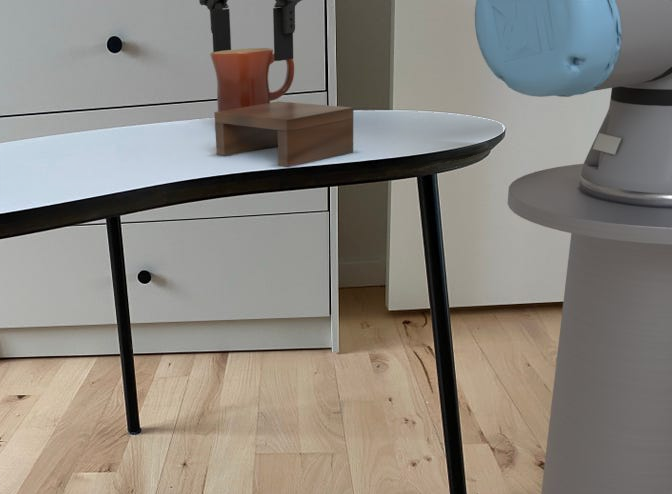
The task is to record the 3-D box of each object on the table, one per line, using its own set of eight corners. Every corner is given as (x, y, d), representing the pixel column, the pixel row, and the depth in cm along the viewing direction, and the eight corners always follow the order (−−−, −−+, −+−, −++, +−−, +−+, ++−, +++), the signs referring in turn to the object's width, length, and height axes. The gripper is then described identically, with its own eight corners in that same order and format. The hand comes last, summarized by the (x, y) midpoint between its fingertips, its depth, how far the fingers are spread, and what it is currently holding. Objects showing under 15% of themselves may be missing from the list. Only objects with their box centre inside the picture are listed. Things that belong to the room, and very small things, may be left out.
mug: (223, 133, 115) (219, 55, 111) (207, 125, 123) (203, 52, 119) (305, 124, 117) (304, 47, 113) (284, 117, 125) (282, 45, 121)
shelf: (353, 152, 96) (353, 107, 94) (287, 166, 91) (286, 119, 89) (279, 142, 106) (278, 101, 104) (216, 154, 101) (214, 112, 99)
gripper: (168, -103, 115) (179, 59, 124) (287, -129, 97) (291, 64, 105) (211, -103, 119) (219, 54, 128) (334, -128, 100) (334, 57, 109)
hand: (251, 59), depth 117 cm, fingers open, 13 cm apart
